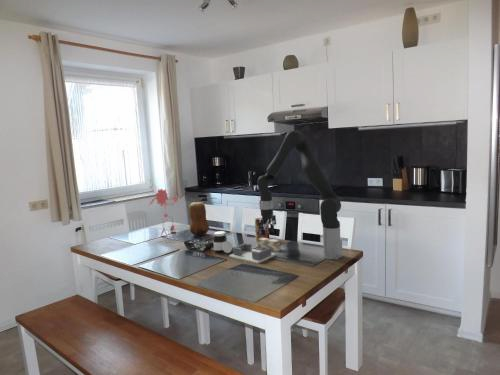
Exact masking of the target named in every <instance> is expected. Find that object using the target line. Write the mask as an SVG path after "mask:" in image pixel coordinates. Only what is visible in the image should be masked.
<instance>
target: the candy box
mask: <svg viewBox="0 0 500 375" xmlns="http://www.w3.org/2000/svg"><path fill="white" fill-rule="evenodd" d="M259 219H262V217H254V228H255V230H254V231H255V242H258V239H259V238H261V237H262V238H269V239H270V224H268V225H267V226H266V227H265V235H262V234H261V229H259V221H258V220H259ZM260 227H261V225H260ZM263 227H264V226H263Z"/></svg>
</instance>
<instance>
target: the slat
mask: <svg viewBox="0 0 500 375" xmlns="http://www.w3.org/2000/svg"><path fill="white" fill-rule="evenodd" d="M262 247H269V248H271V252H272V251H273V252H279V251H281V240H280V239H276V238H275V239H274V238H270V237H269V238H262V237H261V238H259V239H258V241H257V249H261V250H262Z"/></svg>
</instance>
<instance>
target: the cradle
mask: <svg viewBox="0 0 500 375" xmlns="http://www.w3.org/2000/svg"><path fill="white" fill-rule="evenodd" d="M252 246H253V245H252V243H247V242H245V243H242V244H239V245H236V246H234V247H233V248H232V253H231V254H229V255H228V257H229V258H232V259H235V260H240V261H244V262H248V263H253V264H255V265H257V264H261V263H262V262H265V261H267V260H268V259H271V258H273V257H275V256H276V253H274V252H272V250H271V248H269V247H262V249H261V250H258V249H254V248H252Z"/></svg>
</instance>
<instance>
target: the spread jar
mask: <svg viewBox="0 0 500 375" xmlns="http://www.w3.org/2000/svg"><path fill="white" fill-rule="evenodd" d="M213 234H214V235H213V236H214V237H213V242H212V244H213V249H214V250H213V251H214V252H215V253H226V254H229V253H231V252H232V251H233V248H232V247H233V246H232V244H231V242H229V241H228V237H227V235H226V231H223V230H222V231H220V230H219V231H216V232H214V233H213Z"/></svg>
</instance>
